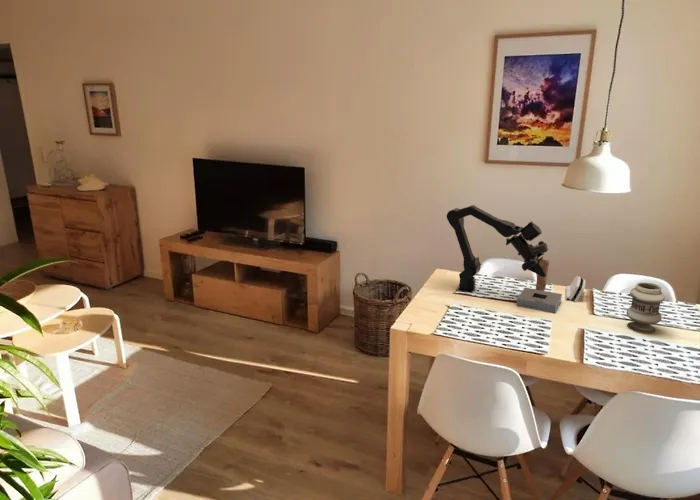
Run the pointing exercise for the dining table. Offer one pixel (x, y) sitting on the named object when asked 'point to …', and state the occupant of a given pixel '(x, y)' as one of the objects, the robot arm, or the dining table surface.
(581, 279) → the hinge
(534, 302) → the grey slotted block
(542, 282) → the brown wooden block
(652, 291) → the apothecary jar
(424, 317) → the dining table surface
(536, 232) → the robot arm
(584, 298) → the dining table surface
